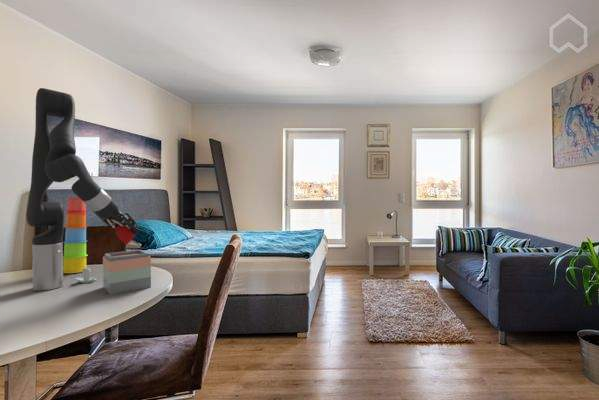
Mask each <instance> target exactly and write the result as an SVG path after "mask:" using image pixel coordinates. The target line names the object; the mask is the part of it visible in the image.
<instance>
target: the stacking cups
mask: <svg viewBox="0 0 599 400" xmlns="http://www.w3.org/2000/svg"><path fill="white" fill-rule="evenodd" d="M66 210H67V212H66V219H65V221H66V223H65V226H64V228H65V235H64V240H63V244H64V245H63V246H64V247H63V249H64V250H63V274H78V273H82V270H83V269H84V268H87V257H88V256H89V255H88V254H87V242H88V240H87V228H88V226H87V214H88V213H87V212H86V211H87V206H86V204H85V203H84V202H83V201H82V200H81V199H80V198H79V197H69V198H68V199H67V209H66Z"/></svg>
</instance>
